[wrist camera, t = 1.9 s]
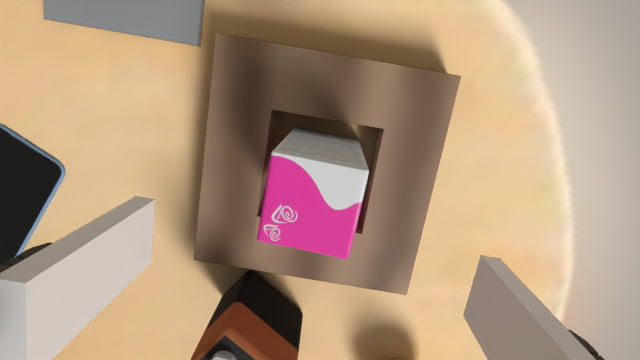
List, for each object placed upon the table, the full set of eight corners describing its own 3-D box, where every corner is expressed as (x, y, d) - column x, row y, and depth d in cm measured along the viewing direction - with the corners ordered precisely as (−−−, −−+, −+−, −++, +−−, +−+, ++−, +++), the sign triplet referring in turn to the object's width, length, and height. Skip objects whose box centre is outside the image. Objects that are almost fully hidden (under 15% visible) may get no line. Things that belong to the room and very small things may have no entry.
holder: (205, 245, 35) (193, 259, 32) (226, 37, 31) (215, 32, 28) (400, 277, 35) (406, 295, 32) (448, 76, 31) (461, 75, 28)
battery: (251, 265, 35) (222, 333, 26) (305, 312, 36) (296, 394, 27) (221, 296, 36) (181, 373, 27) (274, 340, 37) (255, 430, 28)
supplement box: (291, 125, 32) (271, 147, 21) (360, 139, 32) (376, 168, 21) (279, 191, 34) (254, 243, 23) (346, 204, 34) (353, 263, 23)
